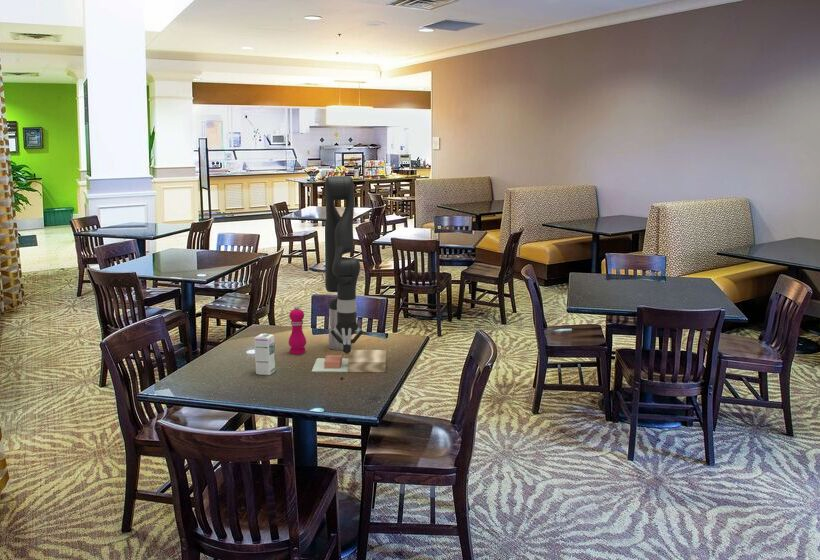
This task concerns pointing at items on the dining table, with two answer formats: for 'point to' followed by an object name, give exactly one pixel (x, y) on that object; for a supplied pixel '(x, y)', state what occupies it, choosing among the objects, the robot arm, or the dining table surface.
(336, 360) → the tile
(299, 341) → the pepper mill
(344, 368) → the mat
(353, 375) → the dining table surface
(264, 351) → the syrup box
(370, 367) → the board
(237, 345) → the dining table surface
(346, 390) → the dining table surface
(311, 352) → the dining table surface
